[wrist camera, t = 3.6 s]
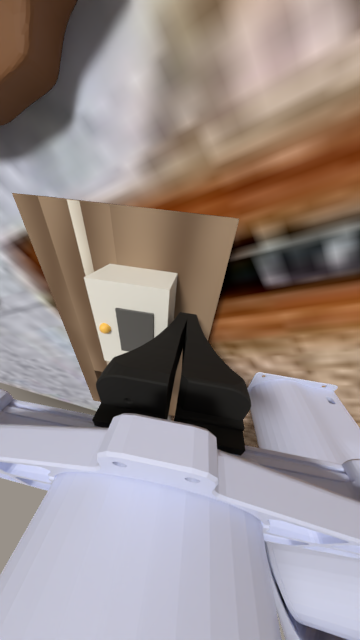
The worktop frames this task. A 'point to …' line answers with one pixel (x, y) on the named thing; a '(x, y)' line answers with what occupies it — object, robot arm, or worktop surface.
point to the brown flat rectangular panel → (124, 261)
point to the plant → (29, 51)
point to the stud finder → (130, 306)
